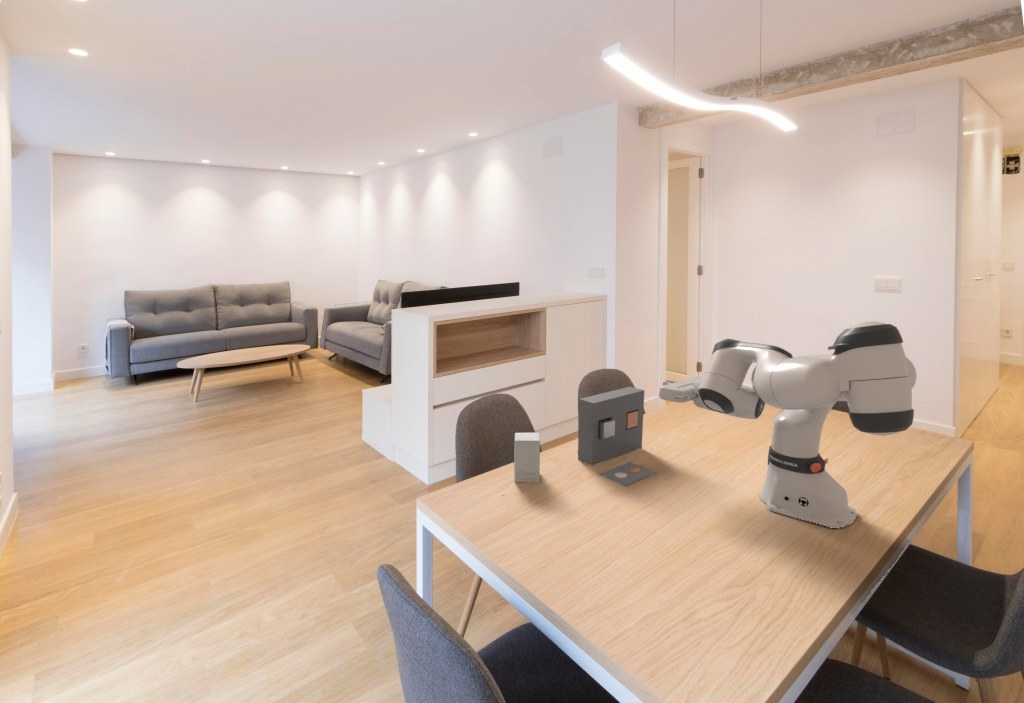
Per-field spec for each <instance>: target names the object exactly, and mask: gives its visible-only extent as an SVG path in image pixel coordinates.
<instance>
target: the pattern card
mask: <svg viewBox="0 0 1024 703" xmlns="http://www.w3.org/2000/svg"><path fill="white" fill-rule="evenodd" d="M657 473H658V472H657V471H655V470H653V469H649V468H647V467H645V466H642V465H639V464H637V463H634V462H632V461H629V462H626V463H624V464H620V465H617V466H616V467H612V468H610V469H607V470H604V471H601V472H599V474H600V475H599V476H601V477H604V478H607V479H609V480H612V481H613V482H615V483H618V484H620V485H621V486H625V487H627V486H629V485H632V484H634V483H636V482H640V481H641V480H644V479H646V478H649V477H651V476H653V475H656V474H657Z"/></svg>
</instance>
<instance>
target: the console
mask: <svg viewBox="0 0 1024 703" xmlns="http://www.w3.org/2000/svg"><path fill="white" fill-rule="evenodd" d="M644 407H645V390H644V389H641V388H637V387H634V386H627V387H623V388H618V389H615V390H610V391H606V392H602V393H599V394H594V395H593V394H592V395H591V396H586V397H582V398H579V400H578V437H577V438H578V440H577V442H578V445H577V460H578V461H580V460H581V461H580V462H582V461H583V462H582V463H584V462H585V464H586V465H589V464H590V465H589V466H591V465H592V466H595V465H598V464H601V463H603V461H604V462H606V461H609V460H611V459H614V458H617V457H620V456H623V455H625V454H628V453H631V452H635V451H637V450H640V449H643V429H644V409H645V408H644ZM634 410H636V411H638V426H635V427H632V428H629V429H626V416H627V412H631V411H634ZM606 418H610V419H613V420H615V436H611V437H608V438H605V439H602V438H599V437H598V425H599V420H603V419H606ZM600 462H601V463H600ZM597 463H598V464H597Z"/></svg>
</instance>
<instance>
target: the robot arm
mask: <svg viewBox="0 0 1024 703" xmlns="http://www.w3.org/2000/svg"><path fill="white" fill-rule="evenodd" d="M902 343H904V339H903V338H902V334H901V333H900V330H899V329H898V328H897V326H895V325H893V324H891V323H885V322H880V321H864V322H863V321H862V322H860V323H857V324H855V325H853V326H850V327H849V328H846V329H844V330H843V331H842V332H841V333H840V334H838V336H837V337H836V339H835V341H834V342H833V345H831V346H828V347H827V350H829V351H830V350H831V351H832V350H834V351H833V353H826V354H817V355H816V354H815V355H814V354H813V355H802V356H801V355H799V356H793V354H792V353H791V352H789V351H788V350H786V349H784V348H782V347H779V346H776V345H772V344H764V343H755V342H746V341H745V342H744V341H740V340H736V339H731V338H726V339H723V340H720V341H718V342H716V343H715V344H714V346H713V348H712V349H713V350H712V353H711V357H710V358H709V361H708V364H707V366H706V369H705V371H704V373H703V375H702V376H695V377H691V378H687V379H683V380H670V379H669V380H664V381H663V382H662V385H661V386H660V387H659V391H658V397H659V398H660V399H661V400H663V401H669V402H674V403H680V404H681V403H687V402H690V401H691V402H693V404H694V405H695V406H696V407H697V408H700V409H703V410H707V411H711V412H716V413H720V414H724V415H727V416H731V417H735V418H740V419H746V420H757V419H759V417H760V416H761V415H762V414H763V411H764V409H765V406H766V404H767V405H768V406H770V407H773V408H774V409H775V408H776V409H780V410H783V411H781V412H780V413H778V414H777V415H776V417H775V418H774V420H773V425H772V434H771V442H770V443H771V444H770V446H769V448H768V454H767V466H768V467H767V472H766V477H765V480H764V483H763V486H762V488H761V491H760V492H759V498H760V500H761V501H763V503H765V504H766V507H767V509H768V510H769V511H770V512H774V513H777V514H780V515H784V516H787V517H791V518H794V519H797V518H798V519H797V520H800V519H801V520H802V521H804V520H805V521H804V522H807V521H809V522H808V523H811V522H813V523H812V524H814V523H816V524H815V525H817V524H820V525H819V526H821V525H824V526H827V527H826V528H828V527H832V528H837V527H842V526H845V525H848V524H850V523H851V522H852V521H854V520H855V519H856V517H857V518H858V512H857V510H856V508H854V507H852V506H850V505H849V500H848V493H847V491H846V489H845V488H844V487H843V486H842V484H840V483H839V482H838V481H837V480H836V479H835V478H833V476H832V475H830V473H829V472H828V471H826V470H825V469H826V464H828V463H829V458H825V459H824V458H823V457H822V456H821V454H820V453H819V451H820V450H819V449H820V443H821V437H822V432H823V431H822V430H823V426H824V423H825V422H826V419H827V417H828V415H829V413H830V412H831V410H832V408H833V407H834V405H835V404H836V403H837V402H847V406H848V410H849V412H848V416H849V419H850V422H851V424H852V426H853V427H854V428H855V429H856V430H858V431H859V432H860V433H861V432H862V433H866V434H869V435H874V436H879V437H883V436H891V435H895V434H898V433H901V432H904V431H907V430H908V429H909V428H910V427H911V426H912V425H913V422H914V415H915V409H913V392H912V391H913V390H912V389H913V388H914V387H915V385H916V382H917V378H918V377H917V370H916V366H915V365H914V363H913V361H911V360H910V358H908V357H907V356H906V354H905V349H904V347H903V344H902ZM753 363H756V364H755V367H754V369H753V370H752V374H751V377H750V378H751V379H750V380H751V386H749V385H748V386H747V385H744V381H745V379H746V377H747V374H748V372H749V369H750V367H751V366H752V364H753ZM801 520H800V521H801ZM856 520H857V519H856ZM856 520H855V521H856ZM855 521H854V522H855ZM850 525H851V524H850ZM824 526H823V527H824ZM832 528H831V529H832ZM837 529H838V528H837Z"/></svg>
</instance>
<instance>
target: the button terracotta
mask: <svg viewBox="0 0 1024 703" xmlns="http://www.w3.org/2000/svg"><path fill="white" fill-rule="evenodd" d="M635 426H638V411H636V410H634V411H631V412H627V416H626V429H629V428H632V427H635Z"/></svg>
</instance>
